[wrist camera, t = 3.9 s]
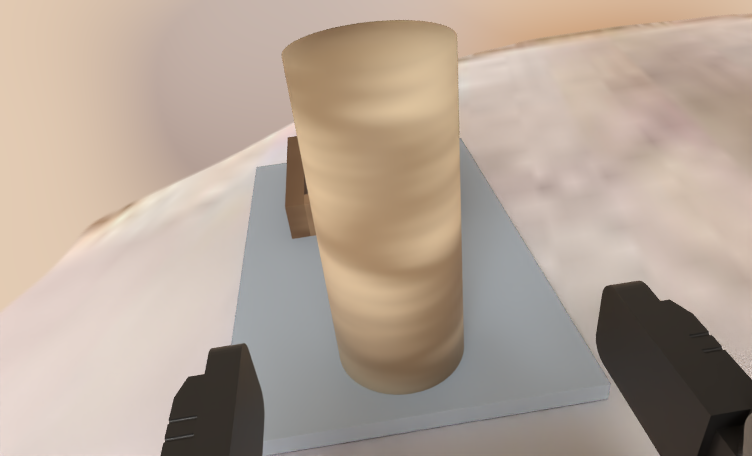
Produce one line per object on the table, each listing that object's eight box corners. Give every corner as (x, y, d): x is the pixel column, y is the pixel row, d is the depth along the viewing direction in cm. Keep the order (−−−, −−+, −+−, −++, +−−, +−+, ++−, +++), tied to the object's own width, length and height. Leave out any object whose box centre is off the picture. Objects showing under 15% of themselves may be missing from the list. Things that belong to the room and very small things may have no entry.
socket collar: (426, 145, 38) (424, 118, 37) (457, 214, 30) (456, 181, 29) (293, 165, 37) (287, 137, 36) (292, 239, 30) (284, 206, 29)
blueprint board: (460, 148, 39) (460, 137, 38) (607, 398, 20) (610, 384, 20) (259, 177, 38) (256, 167, 38) (222, 463, 20) (216, 449, 19)
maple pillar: (448, 296, 25) (436, 12, 18) (478, 382, 21) (478, 55, 14) (335, 313, 24) (283, 33, 18) (343, 404, 20) (278, 82, 14)
